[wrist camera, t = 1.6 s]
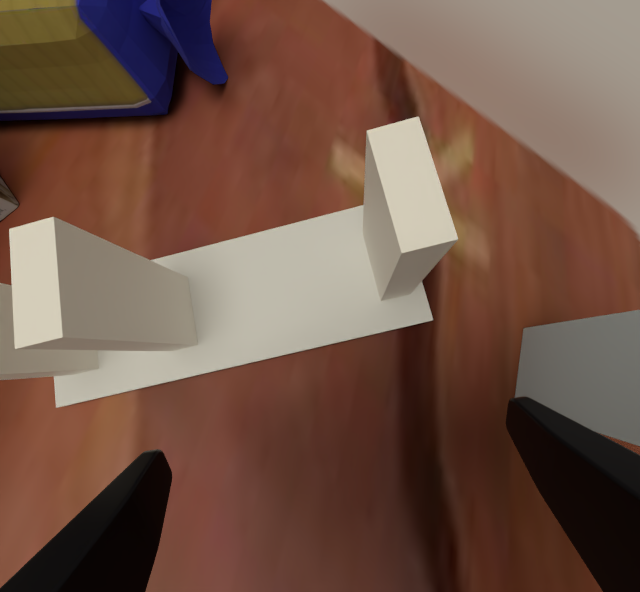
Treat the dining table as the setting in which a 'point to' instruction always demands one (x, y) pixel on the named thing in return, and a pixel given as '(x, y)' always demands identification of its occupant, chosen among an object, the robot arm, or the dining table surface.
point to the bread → (100, 56)
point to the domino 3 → (403, 208)
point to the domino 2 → (93, 294)
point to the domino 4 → (586, 372)
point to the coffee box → (6, 200)
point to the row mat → (262, 305)
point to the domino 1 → (35, 351)
